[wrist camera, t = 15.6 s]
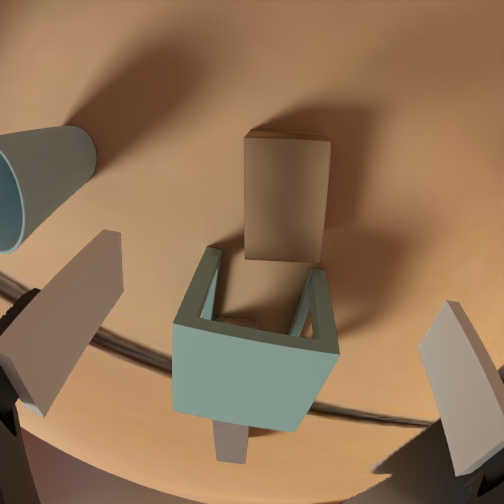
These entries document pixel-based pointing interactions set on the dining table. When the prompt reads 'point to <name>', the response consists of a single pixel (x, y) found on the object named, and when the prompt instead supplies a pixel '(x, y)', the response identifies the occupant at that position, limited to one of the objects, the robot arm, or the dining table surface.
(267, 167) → the walnut block
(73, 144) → the cup
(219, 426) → the grey bar
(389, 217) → the dining table surface
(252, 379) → the bridge
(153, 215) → the dining table surface
